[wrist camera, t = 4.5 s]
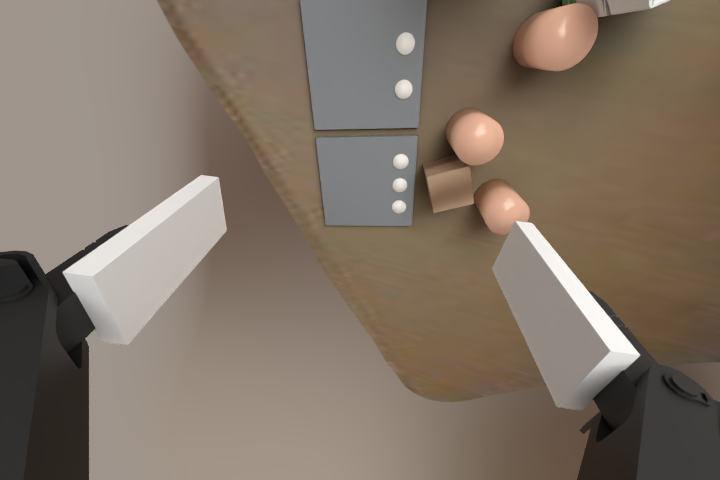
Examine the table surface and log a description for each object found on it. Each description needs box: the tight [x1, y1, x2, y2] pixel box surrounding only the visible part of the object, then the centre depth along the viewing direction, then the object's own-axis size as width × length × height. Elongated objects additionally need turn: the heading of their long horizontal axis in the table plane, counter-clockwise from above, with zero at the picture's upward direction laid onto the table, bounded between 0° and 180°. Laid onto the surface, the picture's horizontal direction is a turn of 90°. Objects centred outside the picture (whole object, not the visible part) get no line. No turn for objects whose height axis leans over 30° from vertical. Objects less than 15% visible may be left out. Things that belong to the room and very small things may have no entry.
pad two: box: [300, 0, 427, 130], centre depth 34 cm, size 13×13×1 cm
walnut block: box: [423, 155, 474, 213], centre depth 38 cm, size 5×5×5 cm
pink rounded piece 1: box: [446, 108, 504, 165], centre depth 34 cm, size 5×5×6 cm
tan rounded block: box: [513, 3, 598, 71], centre depth 29 cm, size 5×5×6 cm
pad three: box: [316, 135, 418, 226], centre depth 41 cm, size 13×13×1 cm
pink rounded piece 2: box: [474, 179, 530, 235], centre depth 39 cm, size 5×5×6 cm
